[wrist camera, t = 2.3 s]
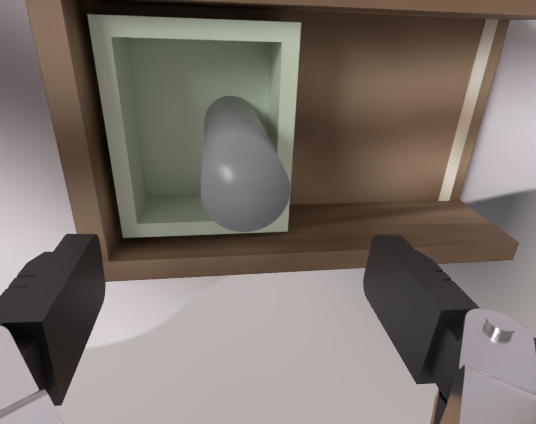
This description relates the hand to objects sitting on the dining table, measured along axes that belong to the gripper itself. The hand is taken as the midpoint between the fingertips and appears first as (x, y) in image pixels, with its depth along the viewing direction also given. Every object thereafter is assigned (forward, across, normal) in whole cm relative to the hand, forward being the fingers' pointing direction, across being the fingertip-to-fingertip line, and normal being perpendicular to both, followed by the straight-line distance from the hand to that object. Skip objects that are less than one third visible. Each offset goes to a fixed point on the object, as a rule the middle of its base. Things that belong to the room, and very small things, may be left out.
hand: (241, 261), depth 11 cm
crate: (+13, +1, -2) cm, 13 cm away
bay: (+14, -5, -2) cm, 15 cm away
